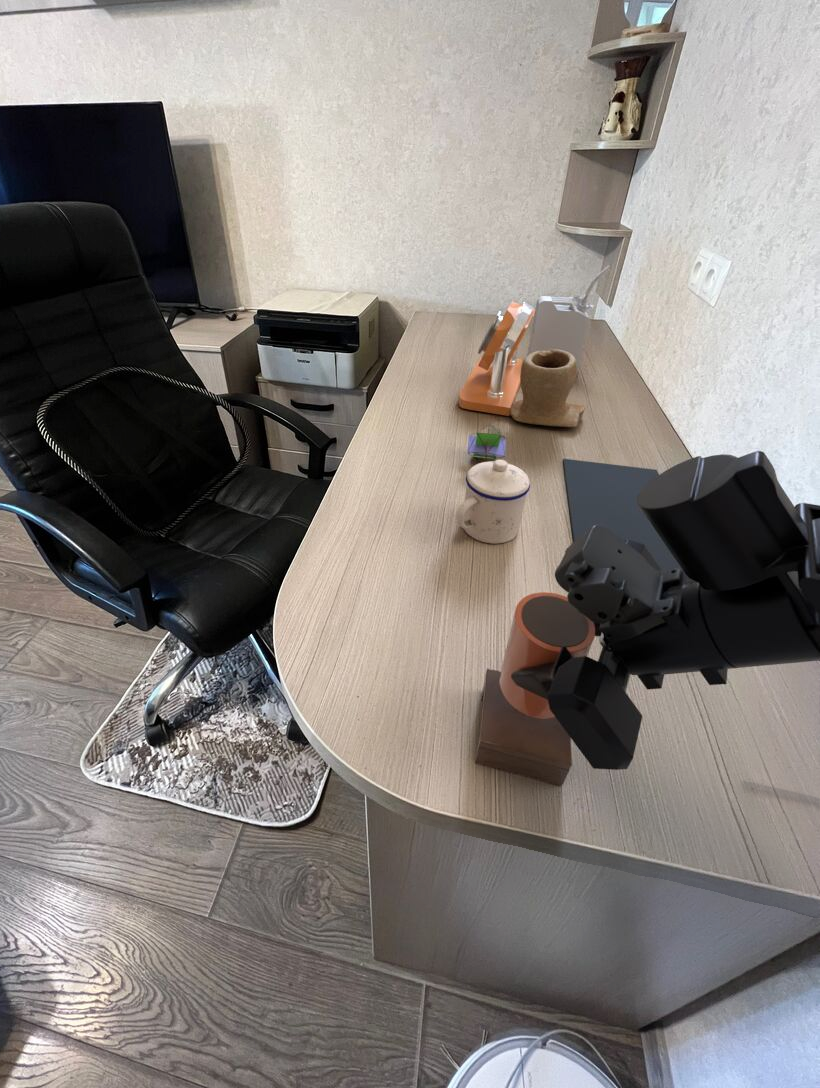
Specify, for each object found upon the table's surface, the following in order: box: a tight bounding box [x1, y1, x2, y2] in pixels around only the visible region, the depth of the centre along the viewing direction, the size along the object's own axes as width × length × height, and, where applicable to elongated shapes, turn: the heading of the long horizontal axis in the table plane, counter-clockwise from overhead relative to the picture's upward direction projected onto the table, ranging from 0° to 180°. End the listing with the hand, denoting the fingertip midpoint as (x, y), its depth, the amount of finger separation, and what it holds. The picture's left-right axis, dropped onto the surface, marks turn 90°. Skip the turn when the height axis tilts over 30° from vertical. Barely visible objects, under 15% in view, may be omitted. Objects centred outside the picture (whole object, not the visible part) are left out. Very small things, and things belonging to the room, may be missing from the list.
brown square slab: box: [474, 668, 573, 787], centre depth 49 cm, size 8×8×4 cm
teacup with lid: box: [455, 459, 531, 545], centre depth 73 cm, size 12×9×12 cm
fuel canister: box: [526, 265, 612, 372], centre depth 124 cm, size 15×5×25 cm, turn 80°
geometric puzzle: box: [466, 423, 507, 462], centre depth 91 cm, size 7×7×8 cm
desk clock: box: [458, 301, 535, 417], centre depth 115 cm, size 12×30×20 cm, turn 159°
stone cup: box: [509, 349, 586, 428], centre depth 102 cm, size 15×12×15 cm
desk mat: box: [562, 458, 682, 571], centre depth 75 cm, size 40×16×1 cm, turn 166°
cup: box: [500, 591, 596, 719], centre depth 43 cm, size 6×6×9 cm
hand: (527, 651), depth 44 cm, fingers closed on cup, 6 cm apart
